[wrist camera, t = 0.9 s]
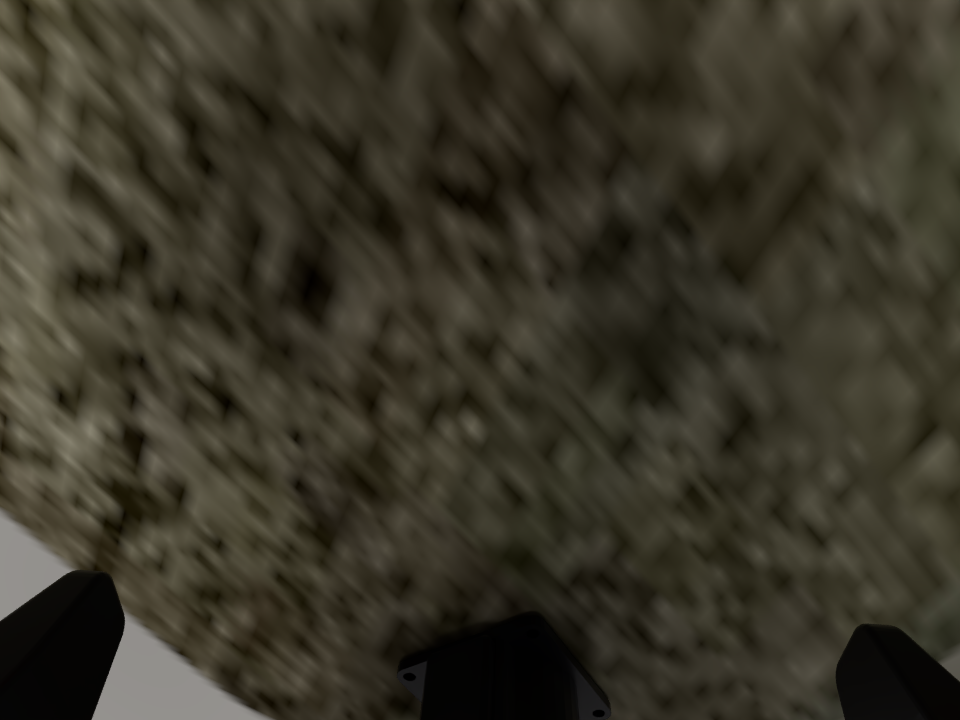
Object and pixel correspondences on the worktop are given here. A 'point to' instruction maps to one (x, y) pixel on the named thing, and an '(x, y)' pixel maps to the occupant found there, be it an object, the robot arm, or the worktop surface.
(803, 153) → the worktop surface
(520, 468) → the worktop surface
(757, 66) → the worktop surface
